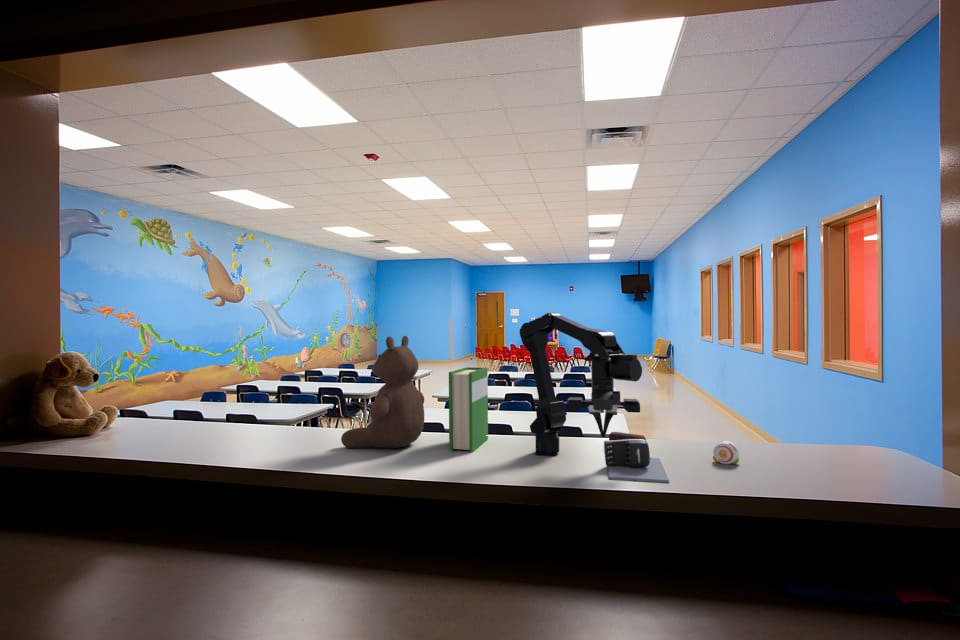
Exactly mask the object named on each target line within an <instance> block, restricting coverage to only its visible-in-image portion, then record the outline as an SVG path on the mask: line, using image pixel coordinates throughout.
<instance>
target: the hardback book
mask: <svg viewBox="0 0 960 640" xmlns="http://www.w3.org/2000/svg"><path fill="white" fill-rule="evenodd" d="M488 376H489V375H488V367H476V366H475V367H473V366H471V367H469V366H467V367H466V366H465V367H461V368H458V369H455V370H452V371H448V433H449V434H448V440H449V441H448V451H449V452H453V451H455V450H467V451H468V450H469V453H472V454H473V453H474V452H475V451H477V450H478V449H479V448H480V447H482V445H483V444H485V443H486V442H487V441H488V440H489V407H488V406H489V405H488V404H489V401H488V400H489V398H488V390H489V389H488V388H489V386H488V381H489V380H488V378H489V377H488ZM486 435H488V436H486Z"/></svg>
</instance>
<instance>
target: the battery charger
mask: <svg viewBox="0 0 960 640" xmlns="http://www.w3.org/2000/svg"><path fill="white" fill-rule="evenodd" d="M603 450H604V461H605V466H606V467H608V466H630V468H641V467H647V466H648V465H649V464H650V458H651V457H650V456H651V455H650V446H649V443H648V442H647V440H646V441H645V440H642V439H627V440H609V439H608V440H607V439H606V440H603Z"/></svg>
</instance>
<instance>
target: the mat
mask: <svg viewBox="0 0 960 640" xmlns="http://www.w3.org/2000/svg"><path fill="white" fill-rule="evenodd" d="M607 469H608V471H609V472H608V480H616V479H620V481H633V480H636V481H635V482H638V481H639V482H649V481H650V482H651V483H652V482H653V483H654V482H655V483H670V479H669V476H668V475H667V472H666V471H665V468H664V466H663V464H662V462H661V459H660V458H659V457H650V464H649V465H648V466H647V467H641V468H630V466H607Z"/></svg>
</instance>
